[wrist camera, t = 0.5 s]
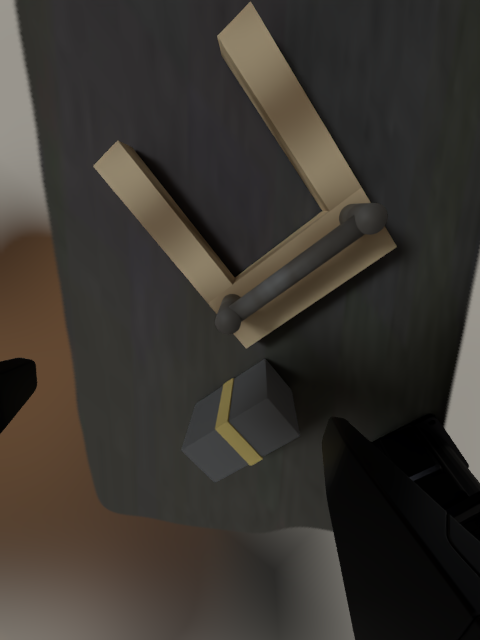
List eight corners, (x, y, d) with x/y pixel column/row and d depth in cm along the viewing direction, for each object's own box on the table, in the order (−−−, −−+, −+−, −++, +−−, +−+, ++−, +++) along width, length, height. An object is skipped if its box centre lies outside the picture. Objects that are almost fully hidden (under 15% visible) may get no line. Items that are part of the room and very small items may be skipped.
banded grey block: (292, 391, 23) (301, 438, 19) (223, 432, 25) (215, 484, 20) (264, 357, 23) (266, 397, 18) (194, 402, 24) (179, 450, 20)
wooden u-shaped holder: (383, 242, 19) (426, 255, 14) (247, 336, 22) (244, 373, 17) (251, 26, 16) (248, -56, 11) (109, 170, 18) (57, 157, 14)
